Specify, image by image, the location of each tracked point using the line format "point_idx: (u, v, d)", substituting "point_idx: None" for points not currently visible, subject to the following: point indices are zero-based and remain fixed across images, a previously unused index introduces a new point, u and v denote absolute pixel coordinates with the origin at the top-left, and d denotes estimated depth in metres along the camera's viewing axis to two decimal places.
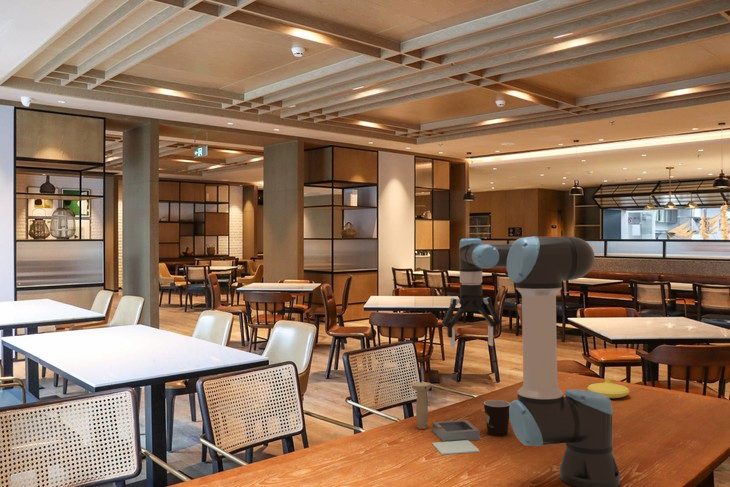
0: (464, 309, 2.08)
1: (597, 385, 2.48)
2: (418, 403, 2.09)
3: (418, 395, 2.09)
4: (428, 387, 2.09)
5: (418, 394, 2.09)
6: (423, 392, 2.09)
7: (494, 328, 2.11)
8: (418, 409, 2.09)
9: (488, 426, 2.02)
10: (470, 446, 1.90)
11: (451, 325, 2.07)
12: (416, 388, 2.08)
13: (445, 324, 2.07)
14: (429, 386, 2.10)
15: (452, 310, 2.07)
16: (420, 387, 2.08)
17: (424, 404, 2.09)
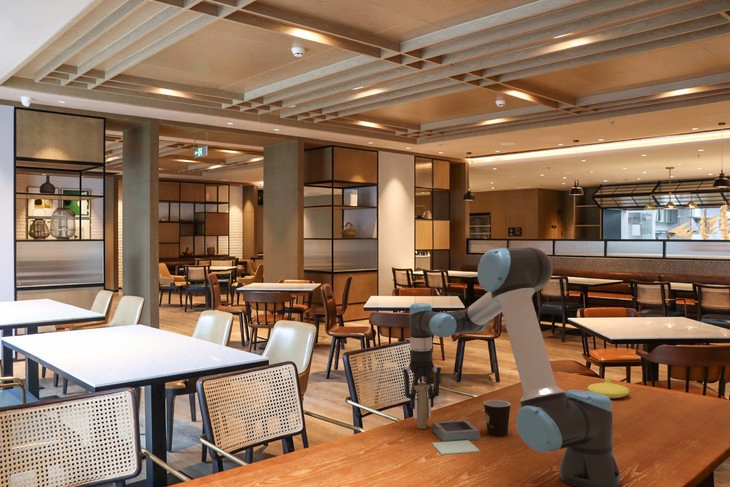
0: (417, 376, 2.08)
1: (597, 385, 2.48)
2: (418, 403, 2.09)
3: (418, 395, 2.09)
4: (428, 387, 2.09)
5: (418, 394, 2.09)
6: (423, 392, 2.09)
7: (432, 400, 2.11)
8: (418, 409, 2.09)
9: (488, 426, 2.02)
10: (470, 446, 1.90)
11: (413, 396, 2.09)
12: (416, 388, 2.08)
13: (408, 396, 2.08)
14: (429, 386, 2.10)
15: (407, 380, 2.08)
16: (420, 387, 2.08)
17: (424, 404, 2.09)
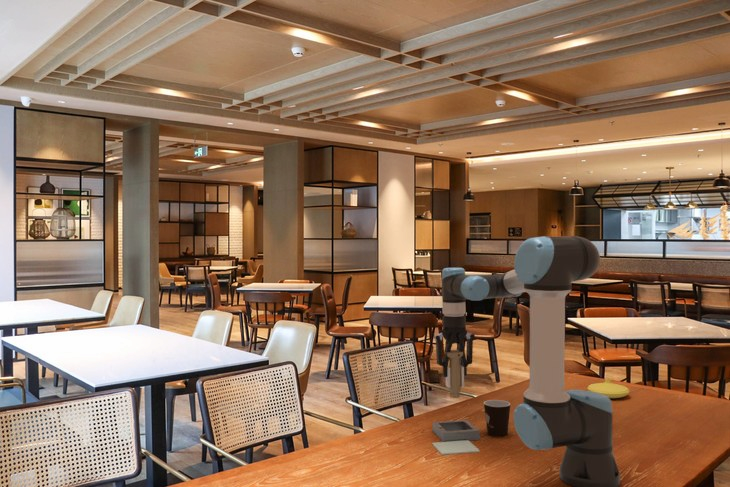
0: (450, 343, 2.00)
1: (597, 385, 2.48)
2: (451, 371, 2.01)
3: (451, 362, 2.01)
4: (461, 354, 2.01)
5: (451, 361, 2.01)
6: (456, 359, 2.01)
7: (465, 368, 2.02)
8: (451, 377, 2.01)
9: (488, 426, 2.02)
10: (470, 446, 1.90)
11: (446, 364, 2.00)
12: (449, 355, 2.00)
13: (440, 363, 2.00)
14: (462, 353, 2.01)
15: (440, 347, 2.00)
16: (453, 354, 2.00)
17: (458, 372, 2.01)
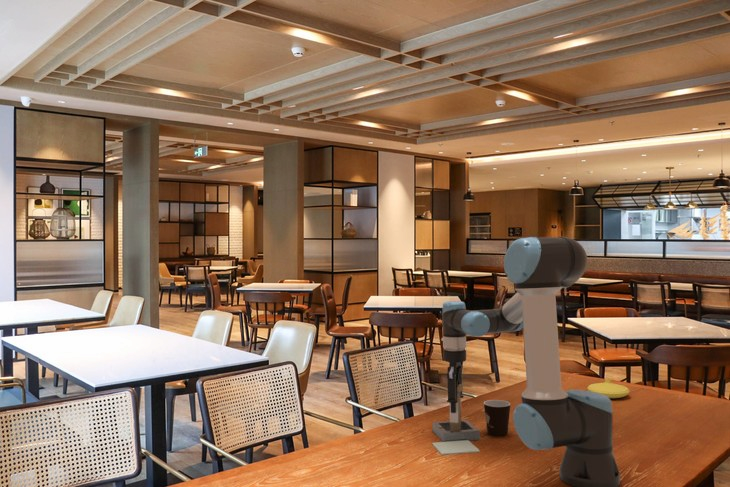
0: (458, 377, 2.00)
1: (597, 385, 2.48)
2: None
3: None
4: None
5: None
6: None
7: None
8: None
9: (488, 426, 2.02)
10: (470, 446, 1.90)
11: None
12: (459, 390, 1.99)
13: (455, 400, 1.97)
14: None
15: (455, 383, 1.97)
16: (461, 388, 2.00)
17: (460, 405, 2.02)
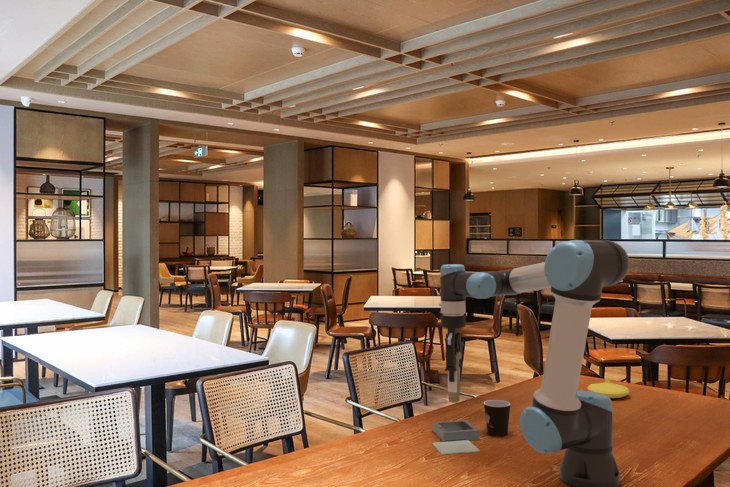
0: (457, 344, 1.88)
1: (597, 385, 2.48)
2: None
3: None
4: None
5: None
6: (458, 361, 1.90)
7: None
8: None
9: (488, 426, 2.02)
10: (470, 446, 1.90)
11: (455, 367, 1.87)
12: (458, 357, 1.88)
13: (454, 368, 1.85)
14: None
15: (454, 350, 1.85)
16: (460, 355, 1.89)
17: (459, 374, 1.91)
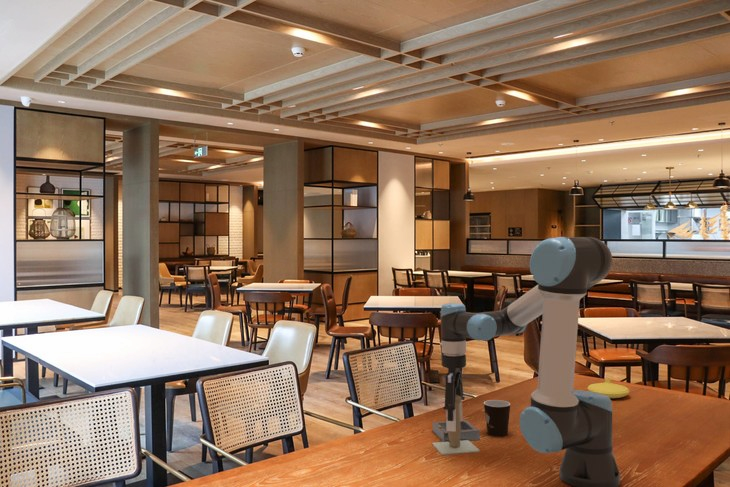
0: (457, 384, 1.88)
1: (597, 385, 2.48)
2: (456, 419, 1.89)
3: None
4: None
5: None
6: (458, 405, 1.90)
7: None
8: (456, 425, 1.89)
9: (488, 426, 2.02)
10: (470, 446, 1.90)
11: (454, 406, 1.85)
12: (458, 402, 1.88)
13: (453, 407, 1.83)
14: None
15: (453, 389, 1.84)
16: (460, 400, 1.89)
17: (459, 418, 1.91)
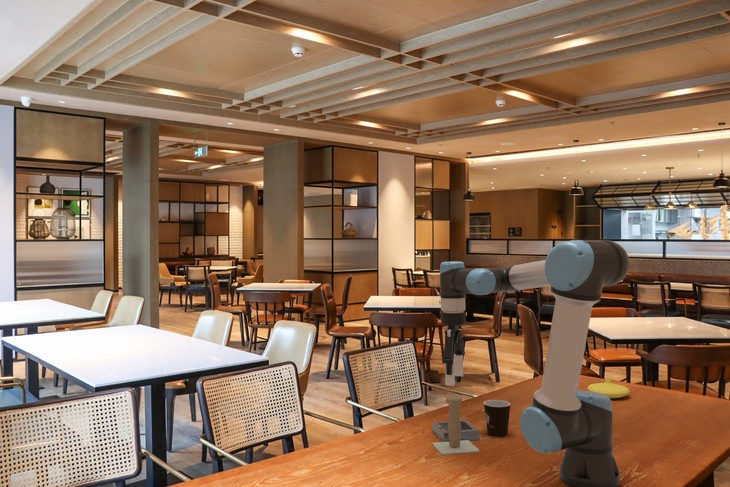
0: (457, 340, 1.87)
1: (597, 385, 2.48)
2: (456, 419, 1.89)
3: (456, 410, 1.89)
4: None
5: (456, 409, 1.89)
6: None
7: None
8: (457, 426, 1.89)
9: (488, 426, 2.02)
10: (470, 446, 1.90)
11: (453, 360, 1.83)
12: (459, 402, 1.88)
13: (451, 360, 1.81)
14: None
15: (453, 343, 1.83)
16: (461, 400, 1.89)
17: None
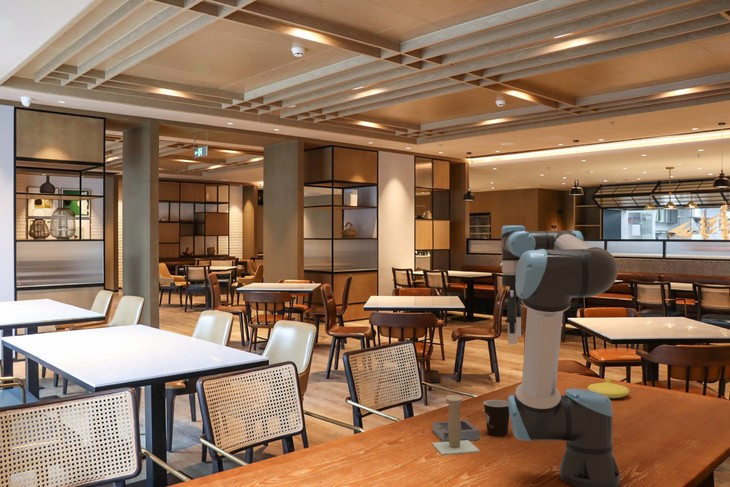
0: (518, 301, 1.94)
1: (597, 385, 2.48)
2: (456, 419, 1.89)
3: (456, 410, 1.89)
4: None
5: (456, 409, 1.89)
6: (459, 405, 1.90)
7: None
8: (457, 426, 1.89)
9: (488, 426, 2.02)
10: (470, 446, 1.90)
11: None
12: (459, 403, 1.88)
13: (515, 319, 1.88)
14: None
15: (515, 303, 1.90)
16: (461, 400, 1.89)
17: None
